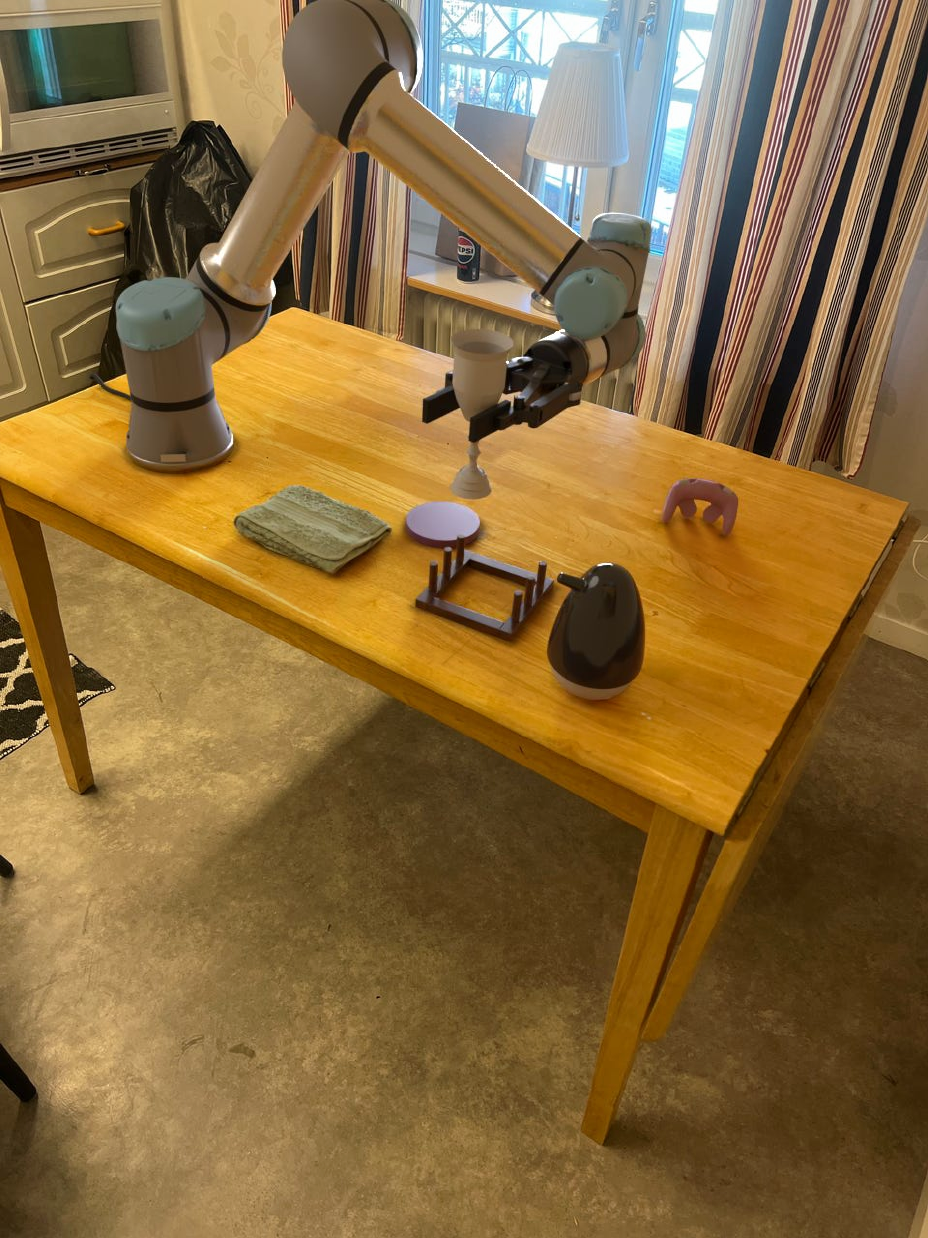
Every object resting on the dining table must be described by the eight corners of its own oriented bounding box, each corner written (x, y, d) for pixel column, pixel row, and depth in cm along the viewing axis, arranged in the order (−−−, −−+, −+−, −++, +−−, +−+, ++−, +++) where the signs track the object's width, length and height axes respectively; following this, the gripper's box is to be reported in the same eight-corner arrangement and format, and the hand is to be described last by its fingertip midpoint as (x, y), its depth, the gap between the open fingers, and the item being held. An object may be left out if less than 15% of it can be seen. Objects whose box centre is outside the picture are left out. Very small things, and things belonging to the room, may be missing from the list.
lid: (391, 533, 118) (391, 525, 117) (428, 501, 125) (428, 494, 124) (457, 556, 115) (458, 548, 114) (491, 521, 122) (492, 514, 121)
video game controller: (730, 535, 126) (743, 486, 124) (731, 537, 121) (744, 487, 120) (661, 520, 128) (673, 472, 126) (659, 521, 123) (671, 472, 122)
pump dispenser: (534, 652, 100) (550, 538, 91) (624, 651, 101) (649, 539, 92) (548, 715, 92) (567, 598, 83) (646, 714, 93) (675, 598, 84)
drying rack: (414, 607, 106) (416, 572, 103) (463, 556, 115) (466, 523, 112) (510, 642, 101) (514, 607, 98) (553, 587, 110) (558, 554, 107)
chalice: (493, 508, 103) (507, 357, 92) (436, 498, 104) (443, 348, 93) (504, 478, 108) (518, 333, 97) (450, 469, 109) (458, 325, 98)
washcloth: (334, 583, 108) (333, 561, 106) (228, 534, 115) (225, 513, 113) (397, 537, 117) (397, 516, 115) (295, 494, 124) (294, 474, 122)
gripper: (623, 414, 109) (515, 481, 94) (500, 370, 118) (383, 425, 103) (634, 355, 105) (522, 415, 90) (505, 313, 113) (383, 362, 98)
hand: (448, 420), depth 96 cm, fingers closed on chalice, 6 cm apart
